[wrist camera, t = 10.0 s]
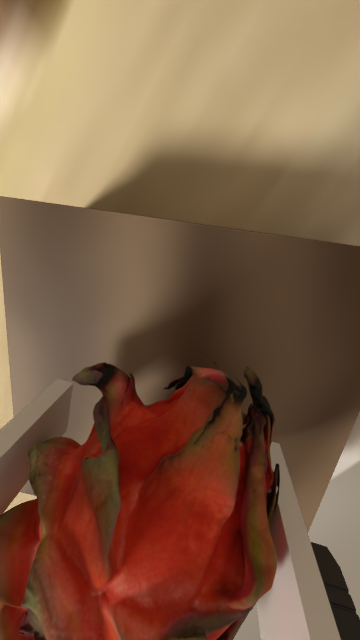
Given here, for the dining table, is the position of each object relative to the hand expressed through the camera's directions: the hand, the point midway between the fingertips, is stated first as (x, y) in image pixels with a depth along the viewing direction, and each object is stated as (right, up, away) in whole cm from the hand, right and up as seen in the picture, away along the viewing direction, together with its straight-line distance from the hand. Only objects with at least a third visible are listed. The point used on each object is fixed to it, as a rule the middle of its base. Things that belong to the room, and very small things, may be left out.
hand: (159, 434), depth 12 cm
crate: (+1, +3, +9) cm, 9 cm away
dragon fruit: (0, 0, +1) cm, 1 cm away
